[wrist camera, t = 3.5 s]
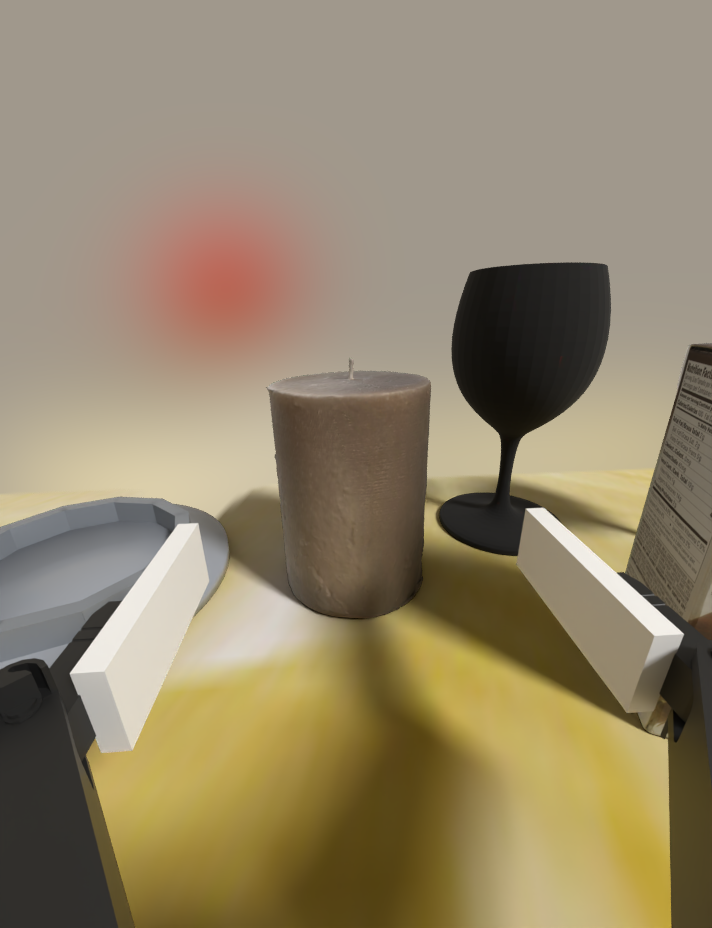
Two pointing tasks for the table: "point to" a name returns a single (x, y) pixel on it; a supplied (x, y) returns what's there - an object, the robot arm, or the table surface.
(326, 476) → the pillar candle
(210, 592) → the candle plate
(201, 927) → the table surface
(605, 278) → the wine glass
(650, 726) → the coffee box
